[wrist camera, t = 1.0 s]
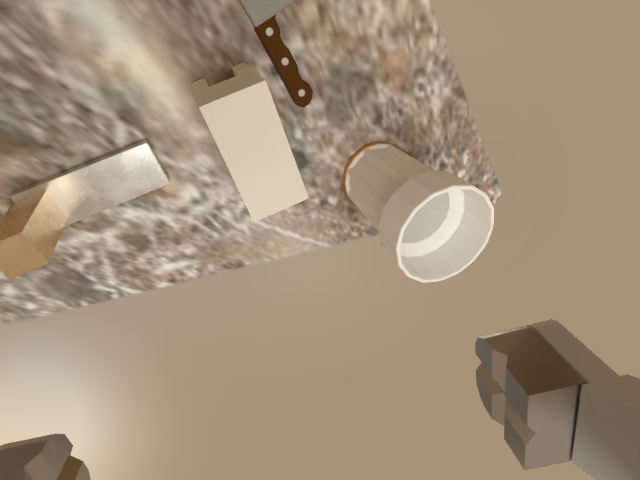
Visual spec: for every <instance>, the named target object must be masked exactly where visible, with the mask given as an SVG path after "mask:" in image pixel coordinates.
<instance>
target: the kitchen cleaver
mask: <svg viewBox="0 0 640 480" xmlns="http://www.w3.org/2000/svg"><path fill="white" fill-rule="evenodd" d="M239 1H240V3H241V5H242V7H243V8H244V10H245V12H246V14H247V15H248V17H249V19H250V20H251V22H252V24H253V25H254V27H255V31H256V33H257V35H258V37H259V39H260V40H261V42H262V44H263V46H264V48H265V50H266V52H267V53H268V55H269V57H270V59H271V61H272V63H273V64H274V66H275V68H276V70H277V72H278V74H279V75H280V77H281V79H282V81H283V83H284V85H285V87H286V88H287V90H288V92H289V94H290V96H291V98H292V99H293V101H294V102H295V103H296V104H297V105H298V106H300V107H305V106H306V105H308V104H309V103H310V101H311V99H312V92H313V91H312V89H311V87H310V85H309V84H308V83H306V82H305V81H303V80H302V79H301V77H300V75H299V73H298V68H297V65H296V63H295V61H294V59H293V57H292V55H291V53H290V51H289V49H288V48H287V47H286V46H285V45H284V44H283V42H282V40H281V37H280V29H279V26H278V24H277V22H276V20H275V16H276V14H277V13H278V12H279V11H281V10H282V9H283V8H285V7H286V6H287V5H289V4H290V3H291V2H292V1H294V0H239Z"/></svg>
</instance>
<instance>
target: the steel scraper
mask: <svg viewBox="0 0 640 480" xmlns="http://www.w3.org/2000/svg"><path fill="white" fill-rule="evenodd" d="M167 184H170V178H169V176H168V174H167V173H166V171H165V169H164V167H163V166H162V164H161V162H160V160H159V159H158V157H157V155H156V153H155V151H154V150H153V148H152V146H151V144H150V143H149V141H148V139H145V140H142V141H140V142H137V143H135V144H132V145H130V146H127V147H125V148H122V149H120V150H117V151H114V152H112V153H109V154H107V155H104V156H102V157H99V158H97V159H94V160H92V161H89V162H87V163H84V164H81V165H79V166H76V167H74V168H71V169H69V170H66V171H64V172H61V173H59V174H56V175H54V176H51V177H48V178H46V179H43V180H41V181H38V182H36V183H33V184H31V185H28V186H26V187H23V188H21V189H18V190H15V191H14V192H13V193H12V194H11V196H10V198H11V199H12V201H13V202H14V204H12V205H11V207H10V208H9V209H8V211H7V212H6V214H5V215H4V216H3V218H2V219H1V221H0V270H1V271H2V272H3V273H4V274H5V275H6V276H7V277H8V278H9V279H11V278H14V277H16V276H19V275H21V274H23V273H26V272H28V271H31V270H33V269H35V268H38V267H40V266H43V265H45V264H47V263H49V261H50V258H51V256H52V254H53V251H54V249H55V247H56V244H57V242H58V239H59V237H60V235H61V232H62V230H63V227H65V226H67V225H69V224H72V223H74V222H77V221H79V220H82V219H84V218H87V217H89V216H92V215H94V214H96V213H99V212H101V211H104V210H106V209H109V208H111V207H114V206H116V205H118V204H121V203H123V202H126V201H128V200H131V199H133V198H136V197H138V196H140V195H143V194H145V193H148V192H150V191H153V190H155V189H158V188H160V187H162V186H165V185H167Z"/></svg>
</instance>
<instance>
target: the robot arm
mask: <svg viewBox="0 0 640 480" xmlns="http://www.w3.org/2000/svg"><path fill="white" fill-rule="evenodd" d="M476 355H477V356H478V358H479V359H480V360H481V362H482V363H481V364H480V366H479V367H478V368H477V370H476V381H477V387H478V390H479V394H480V397H481V400H482V402H483V404H484V406H485V408H486V410H487V412H488V413H489V415H490V416H491V418H492V419H493V420H495V421H497V422H499V423H500V424H502V425H504V439H505V440H506V442H507V444H508V445H509V447H510V448H511V450H512V451H513V453H514V454H515V456H516V458H517V459H518V461H519V462H520V464H521V465H522V467H523V469H524V470H528V469H533V468H538V467H543V466H548V465H552V464H557V463H562V462H567V461H571V463H572V464H573V465H575V466H576V467H578V468H579V469H581V470H582V471H584V472H585V473H587V474H588V475H590V476H591V477H592V478H594V479H595V480H640V379H639V378H636V377H633V376H631V375H623V376H619V375H618V374H616V373H615V372H614V371H613V370H612V369H611V368H610V367H609V366H608V365H606V364H605V363H604V362H603V361H602V360H601V359H600V358H598V357H597V356H596V355H595V354H594V353H593V352H592V351H591V350H590V349H588V348H587V347H586V346H585V345H584V344H583V343H582V342H581V341H579V340H578V339H577V338H576V337H575V336H574V335H573V334H572V333H570V332H569V331H568V330H567V329H566V328H565V327H564V326H562V325H561V324H560V323H559V322H557V321H555V320H552V319H551V320H547V321H543V322H539V323H535V324H531V325H527V326H525V327H520V328H515V329H511V330H507V331H502V332H498V333H494V334H490V335H486V336H481V337H478V338H477V341H476ZM72 447H73V445H72V444H71V443H70V441H69V440H68V438H67V437H66V436H65V434H53V435H47V436H42V437H37V438H32V439H28V440H23V441H18V442H13V443H8V444H4V445H2V446H0V480H90V475H89V471H88V469H87V467H86V466H85V464H84V462H83V461H81V460H79V459H76V458H75V457H72V456H70V453H71V450H72Z"/></svg>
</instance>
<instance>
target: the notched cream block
mask: <svg viewBox="0 0 640 480" xmlns="http://www.w3.org/2000/svg"><path fill="white" fill-rule="evenodd" d="M231 68H232V71H233V73H234V76H235V77H232V78H230V79H227V80H225V81H222V82H220V83H217V84H215V85H212V86H210V87H209V86H208V84H207V82H206V80H205V78H203V79H200V80H198V81H195V82H193V83H191V85H192V88H193V91H194V94H195V97H196V100H197V103H198V106H199V109H200V111H201V113H202V115H203V117H204V119H205V121H206V123H207V125H208V128H209V130H210V132H211V134H212V136H213V138H214V140H215V142H216V144H217V146H218V148H219V151H220V153H221V155H222V157H223V159H224V161H225V163H226V165H227V167H228V169H229V171H230V173H231V176H232V178H233V180H234V182H235V184H236V186H237V188H238V190H239V192H240V194H241V196H242V199H243V201H244V203H245V205H246V207H247V209H248V211H249V213H250V215H251V217H252V219H253V222H256V221H258V220H261V219H263V218H265V217H267V216H270V215H272V214H274V213H276V212H279V211H281V210H283V209H285V208H288V207H290V206H292V205H294V204H297V203H299V202H301V201H303V200H306V199H308V195H307V192H306V189H305V187H304V184H303V181H302V178H301V176H300V173H299V170H298V167H297V165H296V162H295V159H294V156H293V154H292V151H291V148H290V145H289V143H288V140H287V137H286V134H285V132H284V129H283V126H282V123H281V121H280V118H279V115H278V113H277V110H276V107H275V104H274V102H273V99H272V96H271V93H270V91H269V88H268V85H267V82H266V80H265V79H264V78H263V77H261V76H260V75H259V74H258V73H257V72H255V71H254V70H253V69H252V68H251V67H249V66H248V65H247V64H246V63H245V62H243V63H240V64H238V65H235V66H233V67H231Z"/></svg>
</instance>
